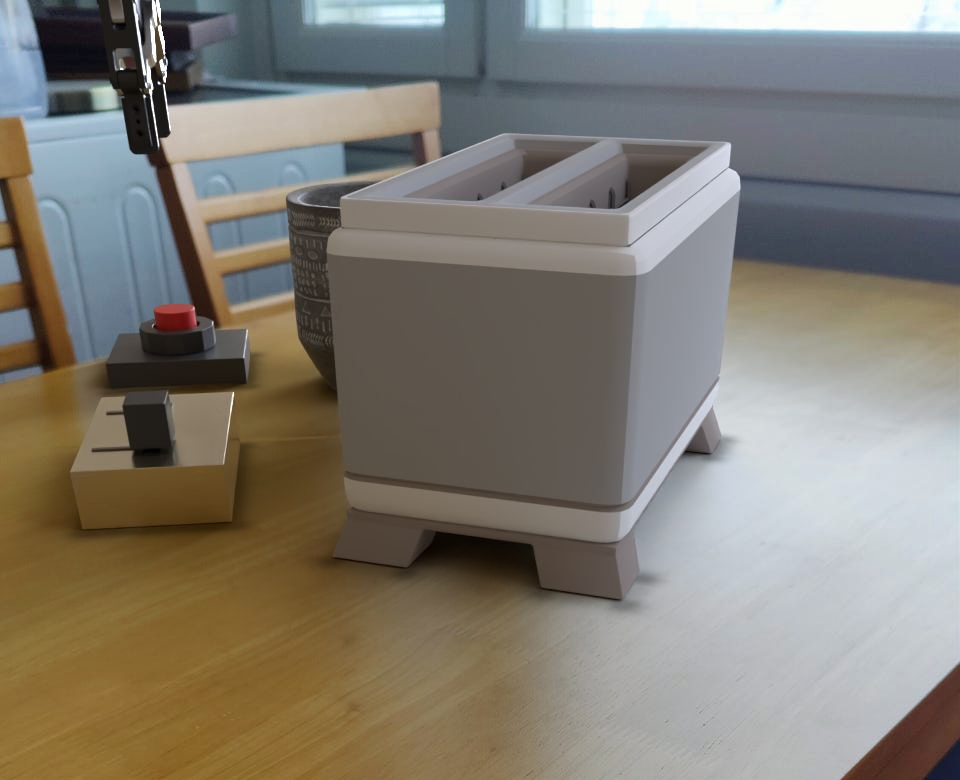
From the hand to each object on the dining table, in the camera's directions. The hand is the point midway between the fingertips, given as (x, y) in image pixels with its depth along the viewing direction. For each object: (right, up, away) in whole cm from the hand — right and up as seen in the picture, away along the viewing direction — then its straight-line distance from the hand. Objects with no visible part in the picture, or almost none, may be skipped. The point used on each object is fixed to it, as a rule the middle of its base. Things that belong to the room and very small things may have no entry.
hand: (151, 145), depth 97 cm
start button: (-1, -9, +13) cm, 16 cm away
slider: (+4, -28, -13) cm, 31 cm away
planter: (+17, -14, +12) cm, 26 cm away
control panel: (+3, -29, -8) cm, 31 cm away
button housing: (-1, -12, +15) cm, 19 cm away
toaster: (+32, -30, -9) cm, 44 cm away
